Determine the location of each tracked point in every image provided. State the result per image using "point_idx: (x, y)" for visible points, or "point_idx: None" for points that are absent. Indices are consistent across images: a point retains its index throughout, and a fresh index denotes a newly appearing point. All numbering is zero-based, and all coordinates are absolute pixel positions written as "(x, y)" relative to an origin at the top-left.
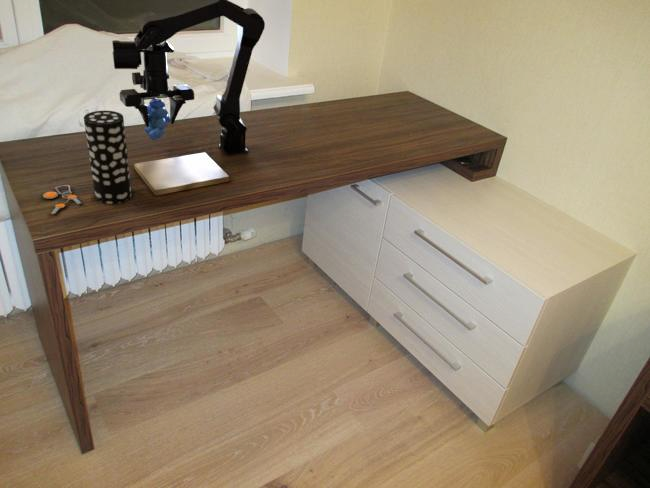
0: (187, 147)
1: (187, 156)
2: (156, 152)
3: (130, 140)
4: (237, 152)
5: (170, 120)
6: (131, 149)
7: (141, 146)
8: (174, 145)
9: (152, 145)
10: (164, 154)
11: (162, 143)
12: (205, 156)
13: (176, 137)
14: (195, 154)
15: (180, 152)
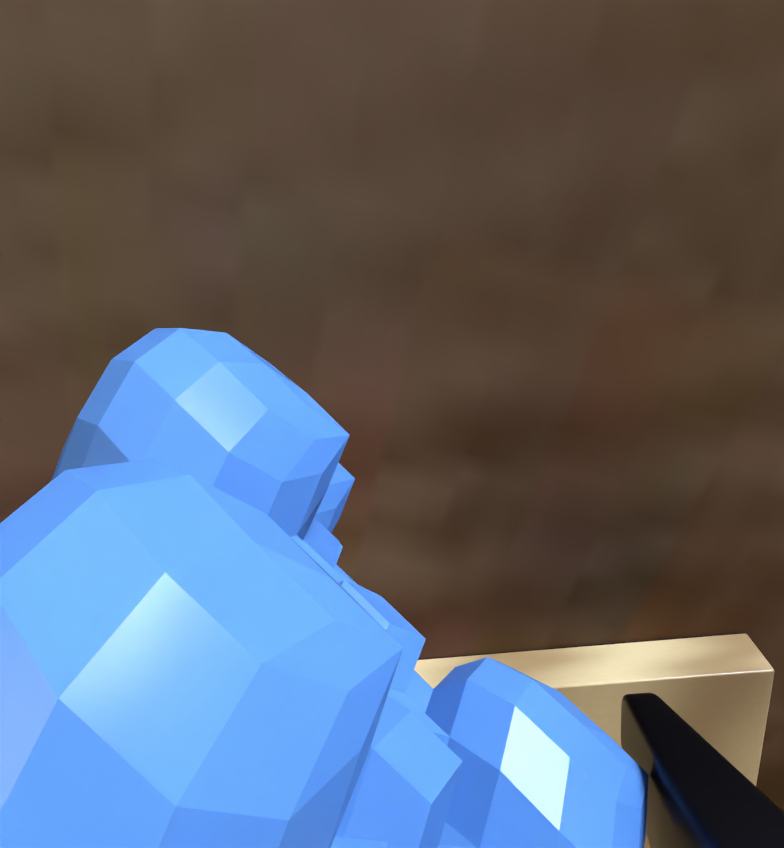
0: (698, 399)
1: (581, 704)
2: (346, 443)
3: (74, 12)
4: None
5: (636, 773)
6: (95, 312)
7: (207, 254)
8: (582, 313)
9: (336, 254)
10: (412, 502)
11: (464, 221)
12: (734, 738)
13: (710, 47)
14: (668, 689)
15: (577, 495)
